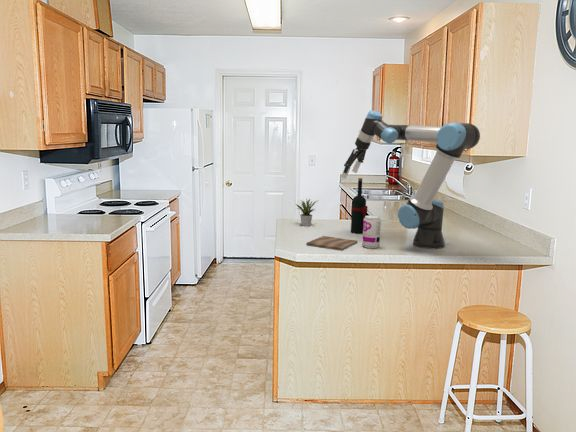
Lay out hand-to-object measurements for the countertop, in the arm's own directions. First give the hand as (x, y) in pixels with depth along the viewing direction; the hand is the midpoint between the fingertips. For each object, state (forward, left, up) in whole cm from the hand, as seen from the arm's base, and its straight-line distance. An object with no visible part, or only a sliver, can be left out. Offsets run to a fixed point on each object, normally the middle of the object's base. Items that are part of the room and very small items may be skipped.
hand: (348, 174), depth 275 cm
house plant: (+28, -7, -32) cm, 43 cm away
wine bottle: (-5, -5, -32) cm, 33 cm away
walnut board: (-4, +28, -32) cm, 43 cm away
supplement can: (-22, +22, -32) cm, 45 cm away
